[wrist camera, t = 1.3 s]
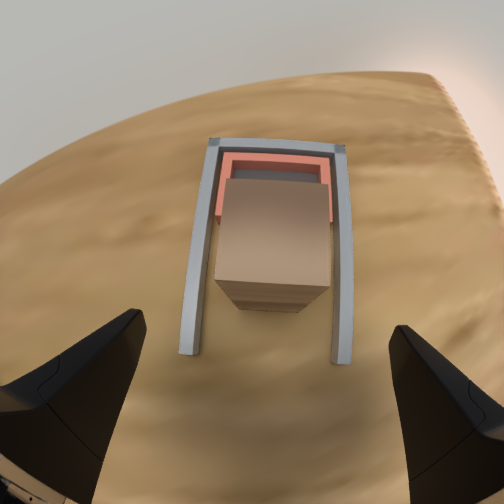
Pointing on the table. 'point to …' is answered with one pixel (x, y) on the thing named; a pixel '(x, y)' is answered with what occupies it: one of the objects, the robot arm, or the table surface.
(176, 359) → the table surface
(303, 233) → the walnut block
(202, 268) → the u-shaped frame
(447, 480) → the robot arm
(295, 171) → the rectangular frame
